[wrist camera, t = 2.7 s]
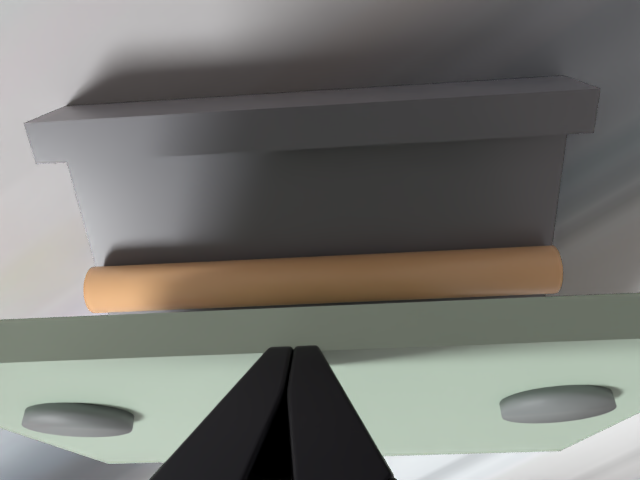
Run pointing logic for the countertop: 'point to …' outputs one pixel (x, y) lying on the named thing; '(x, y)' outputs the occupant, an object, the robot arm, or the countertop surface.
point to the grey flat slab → (320, 194)
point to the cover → (347, 364)
